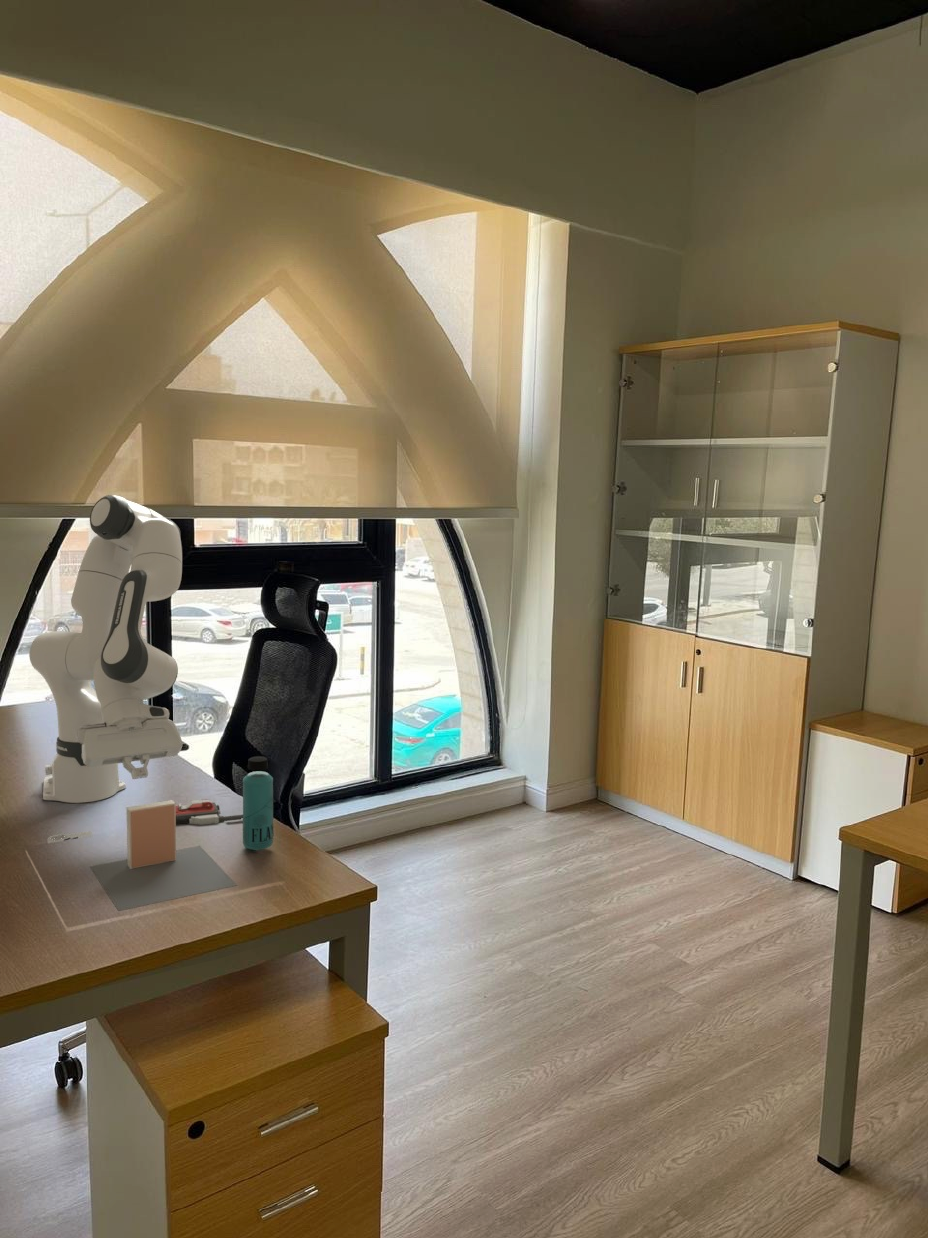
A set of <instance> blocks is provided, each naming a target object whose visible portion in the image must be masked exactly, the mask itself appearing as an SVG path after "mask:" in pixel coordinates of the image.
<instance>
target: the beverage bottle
mask: <svg viewBox="0 0 928 1238" xmlns="http://www.w3.org/2000/svg"><path fill="white" fill-rule="evenodd" d="M268 769H269V763H268V758H267V757H265V756H259V755H258V756H257V755H256V756H251V757H250V758H248V763H247V770H248V771H252V772H249V773H247V774H246V775H245V776H244V777H243V778H242V815H243V818H242V844H243V847H244V848H246V849H248V850H265V849H267V848H270V847H271V846H272V845H273V842H274V837H275V835H274V832H275V831H274V830H275V829H274V823H275V822H274V799H275V796H274V791H275V790H274V785H273V784H274V777H273V776H272V775H271V774H270V773H268V772H266V771H265V770H268Z"/></svg>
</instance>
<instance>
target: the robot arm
mask: <svg viewBox="0 0 928 1238" xmlns="http://www.w3.org/2000/svg"><path fill="white" fill-rule="evenodd" d="M89 525H90V528H91V531H93V532H94V533H95V535H96V536H94V537H93V538H92V539H91V541H90V543H89V545H88V547H87V549H86V550H85V553H84V556H83V558H82V561H81V563H80V566H79V568H78V570H79V571H78V572H77V573H78V574H77V577H76V579H75V584H74V587H73V591H72V595H71V597H70V598H71V599H70V604H71V607H72V609H73V610H74V611H75V613H76V614H77V615H79V616H80V617H81V620H82V629H81V632H77V631H65V630H56V631H48V632H42V633H40V634H38V635H37V636H36V637H35V638H34V639H33V641H32V642H31V644H30V647H29V650H28V651H29V654H28V656H29V662H30V664H31V666H32V668H33V669H34V670H35V671H36V672H37V673H39V674H40V675H41V676H42V677H43V679H44V680H45V682H46V684H47V685H48V688H49V690H50V691H51V693H52V696H53V699H54V702H55V706H56V712H57V713H56V715H57V728H58V730H57V731H58V733H57V734H58V736H57V737H56V742H55V743H56V744H55V746H56V747H55V751H56V754H55V756H54V757H53V759H52V764H46V765H45V766H44V768H45V770H44V772H45V775H46V776H45V777H43V788H42V791H43V792H42V800H44V801H58V802H63V803H72V804H73V803H75V804H77V803H90V802H97V801H101V800H105V799H107V798H110V797H112V796H113V795H115V794H116V793H117V792H119V791H122V790H124V789H126V788H127V785H126V782H123V781H122V780H120V776H119V775H120V774H119V764H122V766H123V768H124V769H125V770H126V771H127V772H128V773H130V775H131V779H132V780H137V779H145V778H148V776H149V772H148V765H149V763H150V760H154V759H161V758H168V757H169V758H170V757H176V756H178V755H179V753H180V752H181V750H182V749H183V748H182V747H183V740H182V737H181V734H180V731H179V729H178V727H177V725H176V723H175V722H174V721H173V720H171V719H169V718H170V710H169V709H167V708H166V707H161V706H156V705H155V706H154V705H151V704H147V703H144V700H150V699H152V698H155V697H157V696H160V695H162V694H165V693H166V692H168V691H169V690H170V689H171V688H172V687H173V685H174V684H175V682H176V680H177V678H178V672H179V669H178V667H179V666H178V664H177V661H176V660H175V658H174V657H173V656H171V655H170V654H168V653H166V652H165V651H163V650H161V649H160V648H157V647H155V646H153V645H151V644H150V643H148V642H147V640H145V639H144V637H143V634H142V632H141V629H142V624H143V619H144V614H145V608H146V603H147V602H157V601H164V600H165V599H166V600H167V599H168V598H170V597H172V596H173V595H174V594H175V593H176V592H177V591H178V590H179V588H180V585H181V583H182V582H181V581H182V574H183V546H182V540H181V530H180V528H179V526H178V525H177V523H175V522H174V521H173V520H171V518H169V517H167V516H164V515H162V514H160V513H159V512H156V511H155V510H153V509H151V508H150V507H148V506H143V505H142V504H139V503H136V502H133V501H131V500H127V499H126V498H125V497H122V496H119V495H114V494H107V495H105V496H103V497H101V498H100V499H98V501H96V503H94V506H93V507H92V509H91V511H90V516H89ZM91 682H93V685H92V683H91ZM93 686H94V687H93ZM139 761H140V764H141V765H143V766H141V767H135V766H134V764H132V763H133V762H139Z"/></svg>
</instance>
